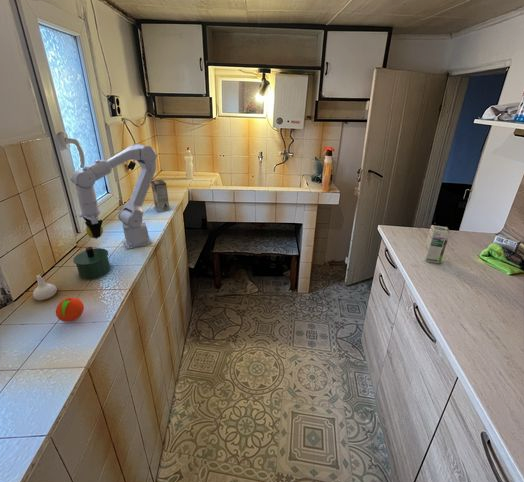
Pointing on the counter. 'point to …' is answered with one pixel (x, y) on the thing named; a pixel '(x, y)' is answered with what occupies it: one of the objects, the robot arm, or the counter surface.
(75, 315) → the red tomato
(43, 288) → the garlic bulb
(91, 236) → the lemon
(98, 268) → the pot
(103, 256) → the pot lid
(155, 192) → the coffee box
